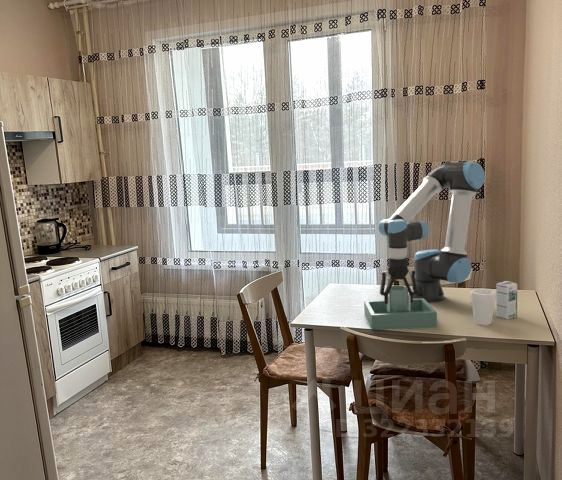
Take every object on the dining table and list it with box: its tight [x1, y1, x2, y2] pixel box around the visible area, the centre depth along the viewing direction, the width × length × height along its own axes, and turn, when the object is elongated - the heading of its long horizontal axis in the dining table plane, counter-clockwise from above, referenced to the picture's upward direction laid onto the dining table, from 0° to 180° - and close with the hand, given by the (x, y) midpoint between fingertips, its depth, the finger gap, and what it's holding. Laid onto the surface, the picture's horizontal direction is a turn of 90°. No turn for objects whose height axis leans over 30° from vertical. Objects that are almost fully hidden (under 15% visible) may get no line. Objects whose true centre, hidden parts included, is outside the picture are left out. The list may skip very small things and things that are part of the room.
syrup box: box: [495, 280, 518, 320], centre depth 208 cm, size 6×6×14 cm
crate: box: [363, 298, 438, 330], centre depth 212 cm, size 26×20×6 cm
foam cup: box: [469, 288, 497, 326], centre depth 202 cm, size 10×9×13 cm
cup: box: [388, 285, 409, 312], centre depth 211 cm, size 8×8×10 cm
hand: (398, 310), depth 211 cm, fingers closed on cup, 8 cm apart
